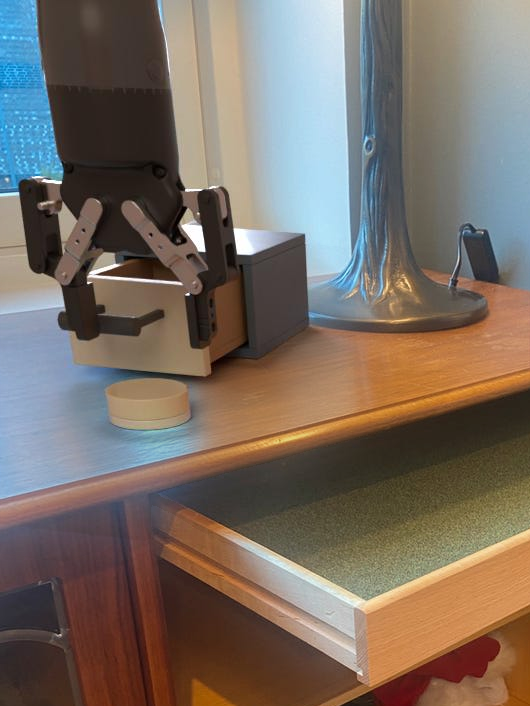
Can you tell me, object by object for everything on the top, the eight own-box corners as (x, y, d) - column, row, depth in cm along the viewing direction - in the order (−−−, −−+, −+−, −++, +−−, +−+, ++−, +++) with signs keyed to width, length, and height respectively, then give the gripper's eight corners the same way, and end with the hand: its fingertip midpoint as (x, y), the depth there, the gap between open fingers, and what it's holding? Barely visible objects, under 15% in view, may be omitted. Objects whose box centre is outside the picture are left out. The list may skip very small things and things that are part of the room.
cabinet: (258, 359, 87) (251, 255, 82) (127, 347, 88) (112, 244, 84) (309, 325, 99) (305, 233, 95) (193, 315, 101) (184, 224, 97)
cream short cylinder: (94, 425, 69) (89, 395, 68) (132, 403, 74) (128, 374, 73) (170, 433, 68) (166, 403, 67) (203, 410, 73) (200, 381, 72)
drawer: (175, 396, 73) (164, 299, 69) (35, 382, 74) (17, 287, 71) (264, 340, 89) (259, 260, 86) (148, 329, 91) (139, 250, 87)
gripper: (239, 86, 63) (258, 338, 71) (36, 77, 64) (78, 324, 73) (191, 85, 56) (219, 363, 64) (-32, 75, 58) (22, 347, 66)
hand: (144, 342), depth 68 cm, fingers open, 8 cm apart
